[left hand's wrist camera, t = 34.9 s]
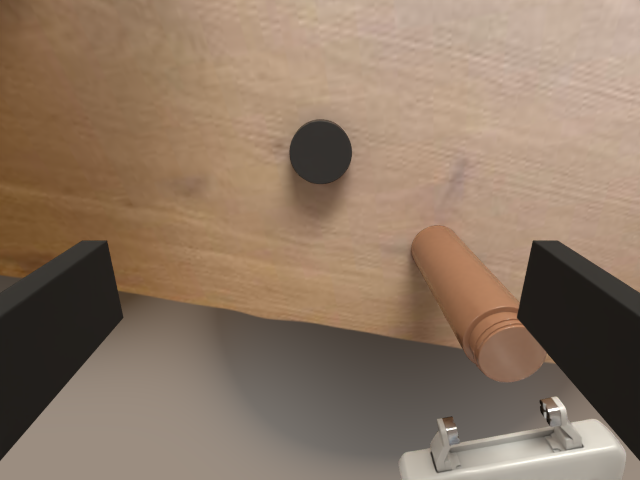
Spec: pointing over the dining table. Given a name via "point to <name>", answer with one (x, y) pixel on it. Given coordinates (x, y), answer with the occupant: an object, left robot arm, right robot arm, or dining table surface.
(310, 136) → the lid
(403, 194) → the dining table surface
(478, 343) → the jar
